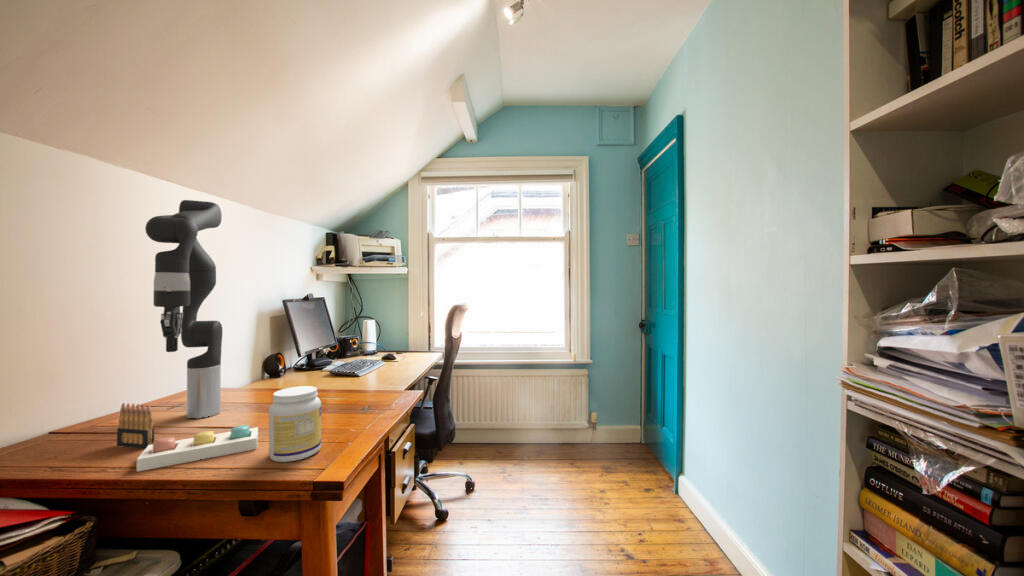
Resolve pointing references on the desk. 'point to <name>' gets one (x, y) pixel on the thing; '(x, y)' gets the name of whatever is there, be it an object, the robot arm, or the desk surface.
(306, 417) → the supplement tub
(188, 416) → the robot arm
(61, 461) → the desk surface
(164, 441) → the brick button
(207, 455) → the panel
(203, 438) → the ochre button
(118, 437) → the ammunition clip
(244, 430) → the teal button
